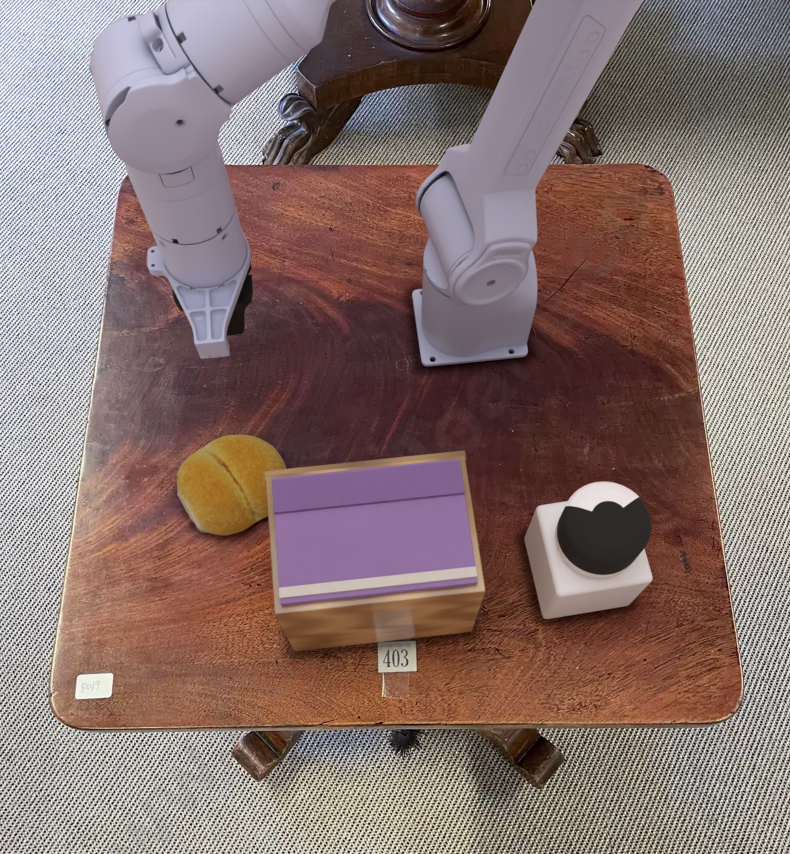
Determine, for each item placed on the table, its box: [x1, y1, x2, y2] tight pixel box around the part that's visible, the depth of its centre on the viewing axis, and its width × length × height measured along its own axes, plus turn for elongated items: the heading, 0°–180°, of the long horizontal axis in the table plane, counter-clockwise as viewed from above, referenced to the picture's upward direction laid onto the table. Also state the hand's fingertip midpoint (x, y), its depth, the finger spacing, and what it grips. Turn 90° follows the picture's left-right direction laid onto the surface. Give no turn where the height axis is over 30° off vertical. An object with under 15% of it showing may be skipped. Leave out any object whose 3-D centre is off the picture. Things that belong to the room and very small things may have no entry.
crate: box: [264, 450, 486, 652], centre depth 64 cm, size 14×10×12 cm
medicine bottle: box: [524, 481, 654, 620], centre depth 64 cm, size 7×7×12 cm
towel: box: [272, 459, 478, 606], centre depth 58 cm, size 13×9×1 cm
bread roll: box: [176, 434, 287, 536], centre depth 70 cm, size 8×9×4 cm
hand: (230, 327), depth 68 cm, fingers closed
